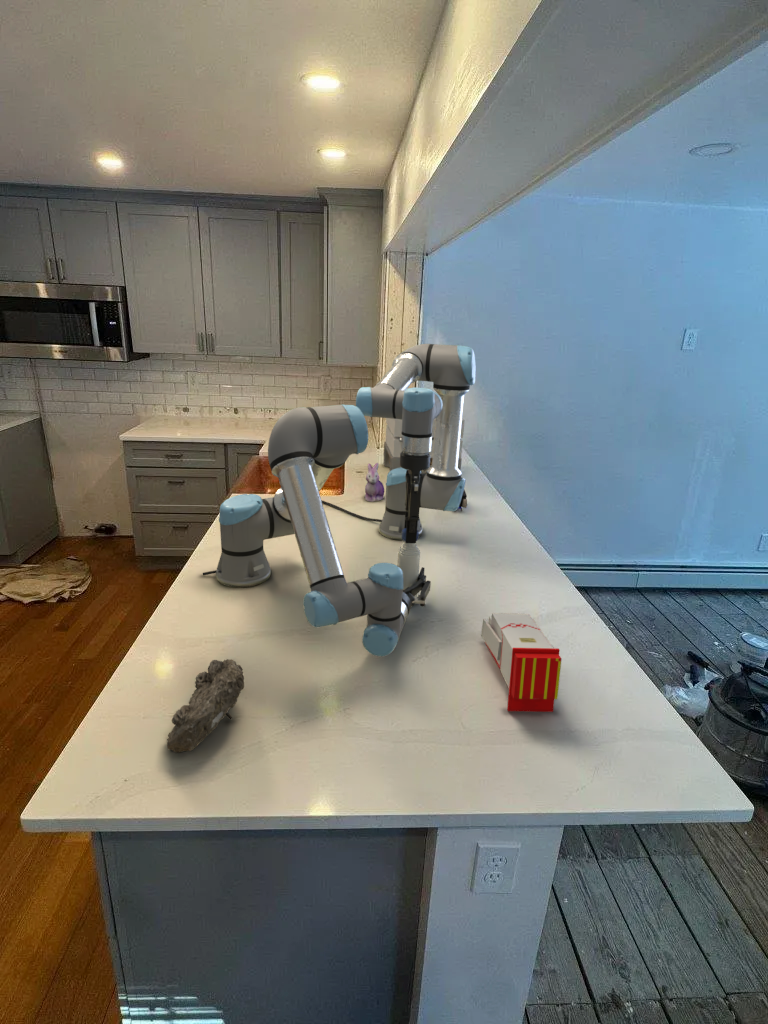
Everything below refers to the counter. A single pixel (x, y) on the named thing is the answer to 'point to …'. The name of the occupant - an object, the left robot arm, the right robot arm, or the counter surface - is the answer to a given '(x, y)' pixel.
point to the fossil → (206, 705)
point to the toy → (523, 661)
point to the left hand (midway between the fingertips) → (411, 570)
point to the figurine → (373, 485)
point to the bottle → (409, 563)
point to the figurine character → (463, 501)
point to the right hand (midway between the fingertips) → (409, 538)
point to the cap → (405, 534)
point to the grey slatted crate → (394, 446)
